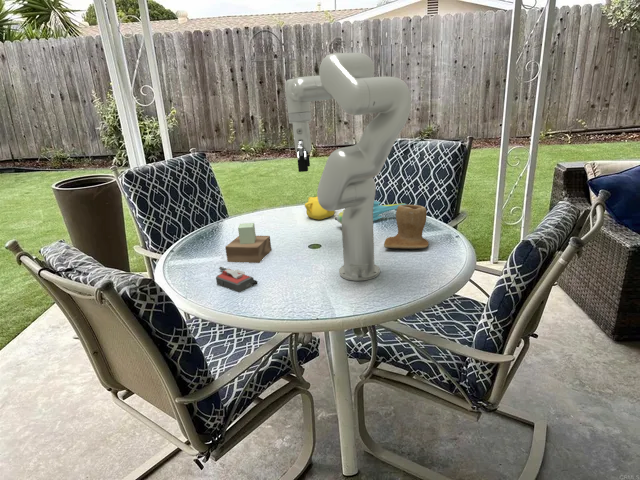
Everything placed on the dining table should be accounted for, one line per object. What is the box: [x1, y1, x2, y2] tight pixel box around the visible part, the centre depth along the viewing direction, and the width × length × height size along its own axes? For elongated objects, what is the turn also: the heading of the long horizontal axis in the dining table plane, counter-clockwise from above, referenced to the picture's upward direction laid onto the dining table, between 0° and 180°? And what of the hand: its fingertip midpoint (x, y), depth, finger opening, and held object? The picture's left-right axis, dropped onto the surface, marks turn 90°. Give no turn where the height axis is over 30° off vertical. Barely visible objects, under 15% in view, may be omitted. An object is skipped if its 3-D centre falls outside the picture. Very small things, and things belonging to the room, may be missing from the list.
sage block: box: [237, 222, 257, 244], centre depth 156 cm, size 5×5×6 cm
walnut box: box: [225, 235, 272, 264], centre depth 158 cm, size 12×12×6 cm
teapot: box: [304, 196, 336, 221], centre depth 197 cm, size 14×13×10 cm
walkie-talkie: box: [215, 266, 258, 293], centre depth 139 cm, size 9×4×20 cm
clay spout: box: [383, 204, 430, 250], centre depth 155 cm, size 15×12×15 cm
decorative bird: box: [334, 200, 407, 225], centre depth 185 cm, size 14×30×9 cm, turn 117°
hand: (304, 168), depth 153 cm, fingers open, 9 cm apart
